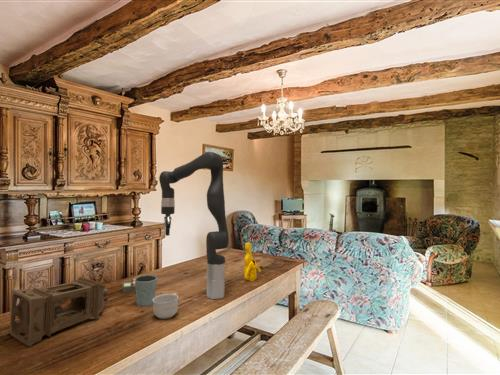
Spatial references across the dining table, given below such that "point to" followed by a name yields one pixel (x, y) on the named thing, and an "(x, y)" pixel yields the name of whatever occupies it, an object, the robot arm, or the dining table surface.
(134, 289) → the key console
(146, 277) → the grey-green tumbler
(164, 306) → the teacup
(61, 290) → the brown lantern
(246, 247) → the figure statuette
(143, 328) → the dining table surface
